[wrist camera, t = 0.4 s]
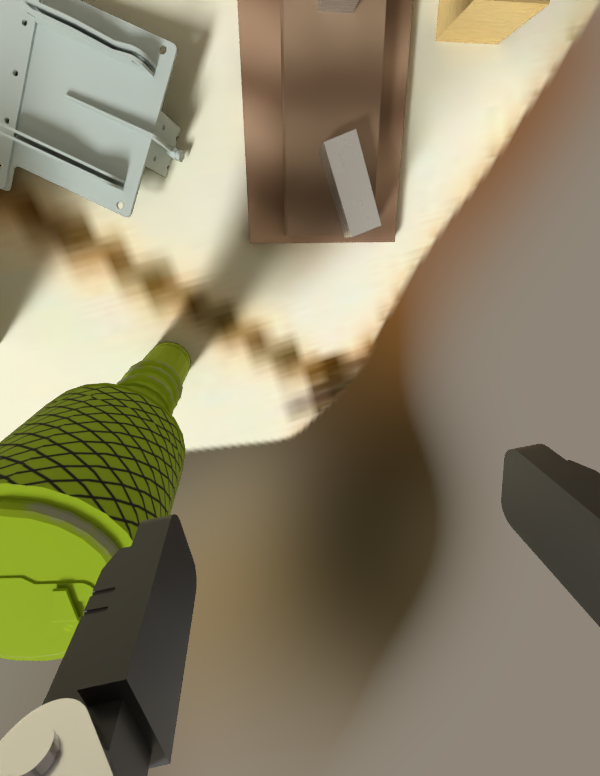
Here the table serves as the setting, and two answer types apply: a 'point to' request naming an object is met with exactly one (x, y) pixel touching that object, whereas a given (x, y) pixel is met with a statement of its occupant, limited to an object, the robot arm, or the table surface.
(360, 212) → the grey bar
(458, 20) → the natural wood cube
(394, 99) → the base
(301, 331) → the table surface
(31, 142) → the metal bracket
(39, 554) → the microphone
